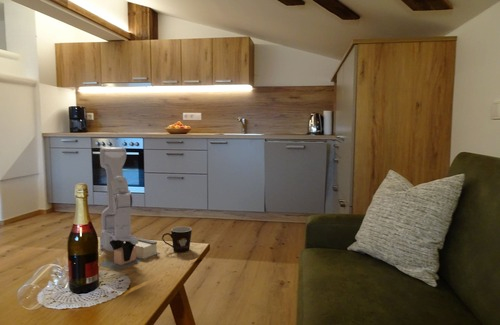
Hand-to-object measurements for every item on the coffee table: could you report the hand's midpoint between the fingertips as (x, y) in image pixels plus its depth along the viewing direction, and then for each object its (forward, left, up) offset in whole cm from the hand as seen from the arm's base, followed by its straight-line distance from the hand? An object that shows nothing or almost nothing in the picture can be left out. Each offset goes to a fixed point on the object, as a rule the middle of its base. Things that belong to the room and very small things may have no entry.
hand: (123, 259), depth 134 cm
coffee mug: (+8, +22, -2) cm, 24 cm away
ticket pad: (0, +10, -1) cm, 10 cm away
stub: (0, +1, -1) cm, 1 cm away
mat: (0, +4, -2) cm, 5 cm away
